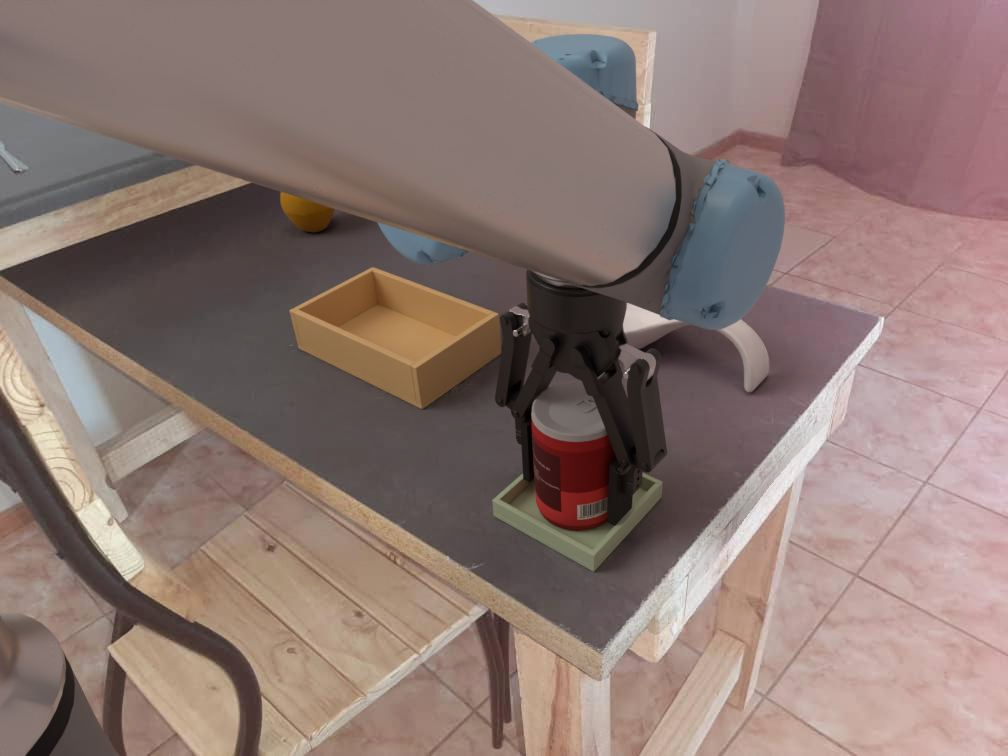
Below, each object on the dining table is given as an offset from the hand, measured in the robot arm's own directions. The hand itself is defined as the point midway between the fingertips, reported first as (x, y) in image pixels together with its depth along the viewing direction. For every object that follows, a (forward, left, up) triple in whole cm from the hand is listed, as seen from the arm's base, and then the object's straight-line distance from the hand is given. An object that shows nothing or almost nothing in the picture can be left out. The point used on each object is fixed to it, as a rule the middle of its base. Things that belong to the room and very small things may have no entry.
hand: (575, 493), depth 70 cm
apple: (+27, +71, -2) cm, 77 cm away
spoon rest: (+27, +6, -2) cm, 28 cm away
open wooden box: (+9, +33, -2) cm, 34 cm away
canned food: (0, 0, -2) cm, 2 cm away
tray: (0, 0, -2) cm, 2 cm away
